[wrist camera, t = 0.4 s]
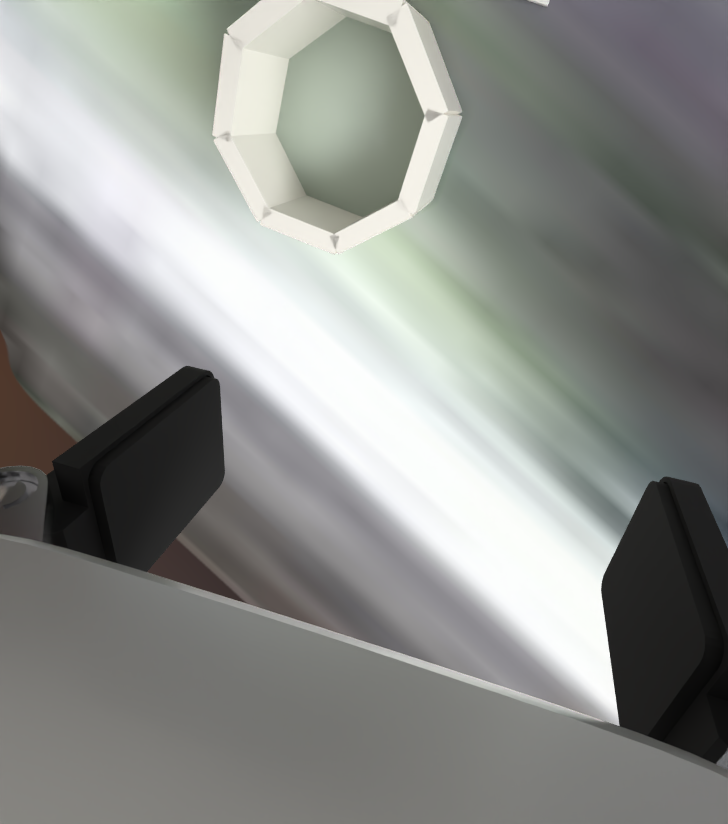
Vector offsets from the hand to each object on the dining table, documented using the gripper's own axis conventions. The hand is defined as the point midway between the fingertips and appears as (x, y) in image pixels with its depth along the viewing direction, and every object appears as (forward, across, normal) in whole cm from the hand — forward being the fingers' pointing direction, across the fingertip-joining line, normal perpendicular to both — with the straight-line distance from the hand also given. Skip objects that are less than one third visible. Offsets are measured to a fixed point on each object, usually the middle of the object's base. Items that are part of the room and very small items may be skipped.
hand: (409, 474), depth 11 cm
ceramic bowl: (+29, +10, -5) cm, 32 cm away
